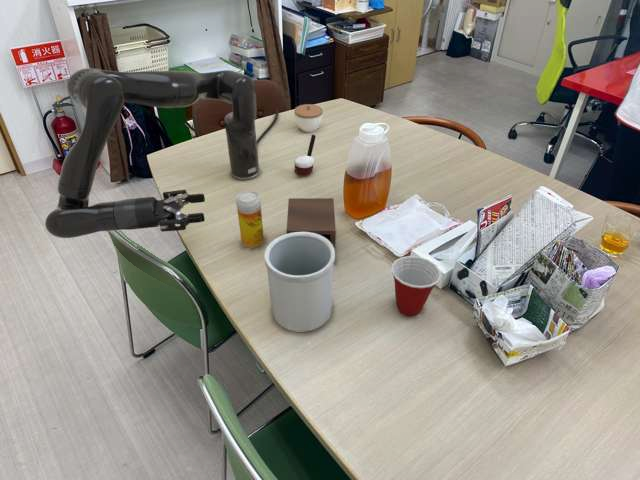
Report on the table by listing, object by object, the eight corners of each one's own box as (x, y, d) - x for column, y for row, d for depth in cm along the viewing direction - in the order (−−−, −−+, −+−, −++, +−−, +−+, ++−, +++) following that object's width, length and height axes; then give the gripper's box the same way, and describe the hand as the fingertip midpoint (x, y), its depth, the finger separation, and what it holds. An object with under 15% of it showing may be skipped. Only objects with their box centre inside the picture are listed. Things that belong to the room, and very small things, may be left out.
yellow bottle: (260, 250, 123) (255, 204, 114) (238, 247, 124) (232, 201, 115) (266, 236, 128) (262, 191, 118) (245, 233, 129) (240, 188, 119)
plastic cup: (435, 296, 111) (444, 259, 103) (428, 329, 103) (437, 292, 95) (391, 285, 113) (396, 248, 106) (381, 317, 105) (386, 279, 98)
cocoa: (296, 181, 150) (295, 148, 142) (288, 172, 154) (287, 139, 147) (322, 173, 154) (322, 141, 146) (313, 165, 158) (313, 133, 150)
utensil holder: (257, 304, 108) (251, 247, 97) (309, 278, 115) (308, 222, 104) (292, 345, 99) (289, 288, 88) (346, 314, 106) (349, 257, 95)
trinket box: (312, 137, 174) (312, 114, 168) (289, 130, 178) (288, 107, 172) (327, 127, 181) (328, 104, 175) (305, 120, 185) (304, 97, 179)
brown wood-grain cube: (290, 230, 130) (288, 198, 123) (332, 230, 130) (333, 198, 123) (288, 264, 119) (286, 230, 112) (334, 263, 119) (335, 230, 112)
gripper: (129, 218, 106) (201, 211, 108) (136, 185, 116) (202, 179, 119) (137, 243, 110) (206, 236, 113) (143, 209, 121) (206, 203, 124)
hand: (204, 207), depth 116 cm, fingers open, 8 cm apart
